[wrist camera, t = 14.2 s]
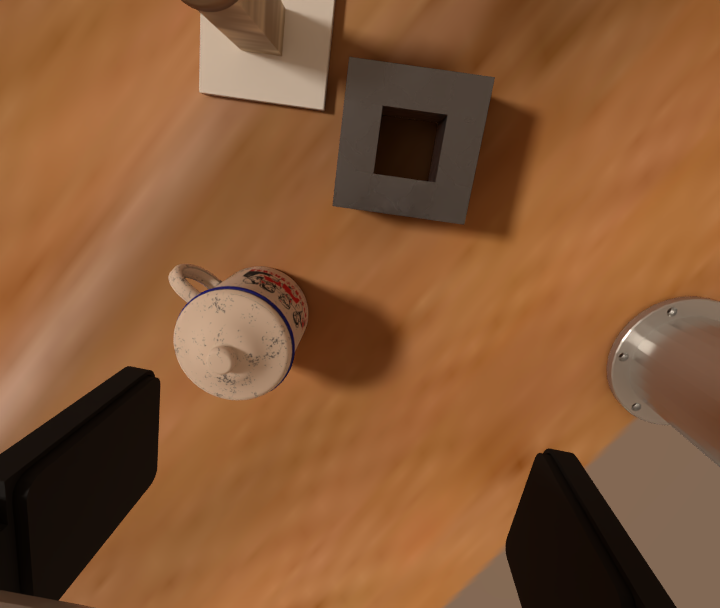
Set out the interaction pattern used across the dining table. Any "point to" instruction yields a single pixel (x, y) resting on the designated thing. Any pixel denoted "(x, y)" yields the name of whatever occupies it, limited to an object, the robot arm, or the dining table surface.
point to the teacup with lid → (238, 329)
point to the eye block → (416, 102)
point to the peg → (247, 22)
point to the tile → (273, 60)
